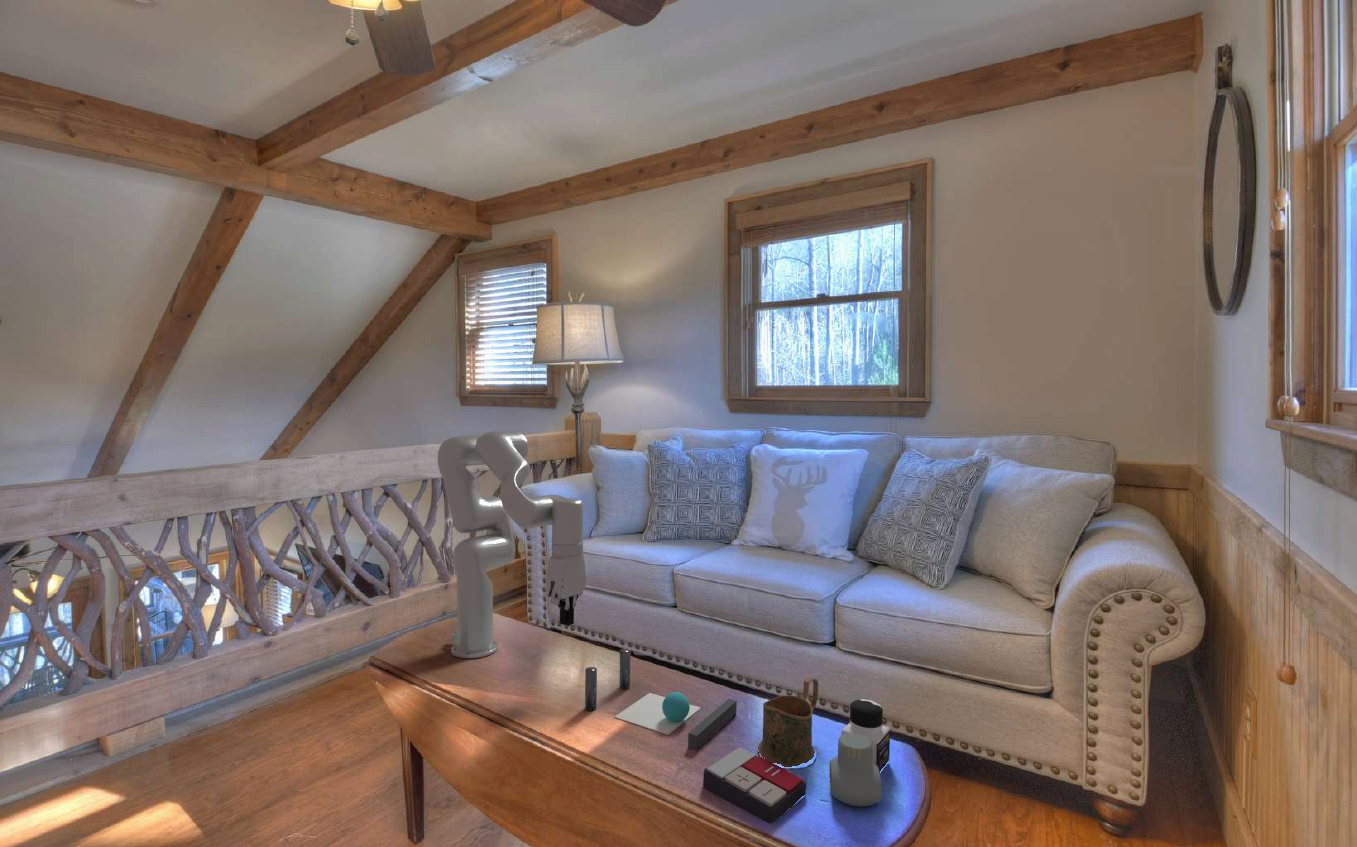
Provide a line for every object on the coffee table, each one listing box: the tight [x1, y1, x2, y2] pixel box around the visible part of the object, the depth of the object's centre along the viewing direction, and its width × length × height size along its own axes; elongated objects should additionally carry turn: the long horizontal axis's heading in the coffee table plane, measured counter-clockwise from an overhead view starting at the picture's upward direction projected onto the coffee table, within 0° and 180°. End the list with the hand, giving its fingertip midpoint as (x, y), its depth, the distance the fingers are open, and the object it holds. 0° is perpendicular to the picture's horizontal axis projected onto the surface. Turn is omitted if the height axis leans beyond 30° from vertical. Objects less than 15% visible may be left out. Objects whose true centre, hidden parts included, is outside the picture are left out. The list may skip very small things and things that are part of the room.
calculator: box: [702, 747, 807, 825], centre depth 114 cm, size 11×4×15 cm
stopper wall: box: [687, 698, 738, 751], centre depth 136 cm, size 2×18×3 cm, turn 149°
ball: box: [662, 691, 691, 722], centre depth 140 cm, size 6×6×6 cm
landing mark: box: [613, 692, 702, 736], centre depth 143 cm, size 14×14×1 cm
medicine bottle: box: [840, 698, 891, 772], centre depth 123 cm, size 7×7×12 cm
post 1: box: [584, 666, 598, 712], centre depth 145 cm, size 3×3×9 cm
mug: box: [757, 677, 819, 767], centre depth 129 cm, size 12×18×12 cm, turn 140°
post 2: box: [619, 648, 632, 691], centre depth 156 cm, size 3×3×9 cm
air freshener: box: [829, 733, 883, 807], centre depth 113 cm, size 11×8×10 cm
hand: (566, 623), depth 157 cm, fingers closed
